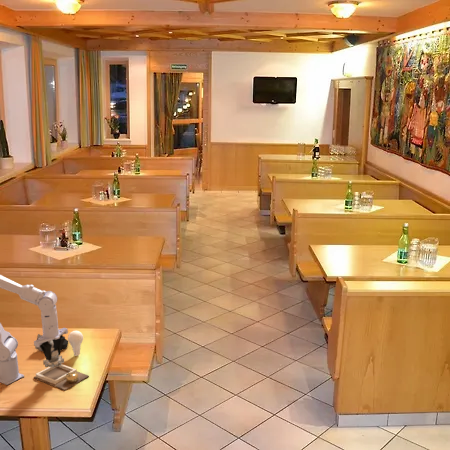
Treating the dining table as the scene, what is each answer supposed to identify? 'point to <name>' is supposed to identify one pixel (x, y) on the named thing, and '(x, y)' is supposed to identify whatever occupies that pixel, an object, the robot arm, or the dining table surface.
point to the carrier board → (58, 373)
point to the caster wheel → (53, 344)
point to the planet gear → (54, 359)
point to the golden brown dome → (72, 377)
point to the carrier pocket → (40, 375)
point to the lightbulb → (75, 341)
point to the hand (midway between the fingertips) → (53, 357)
